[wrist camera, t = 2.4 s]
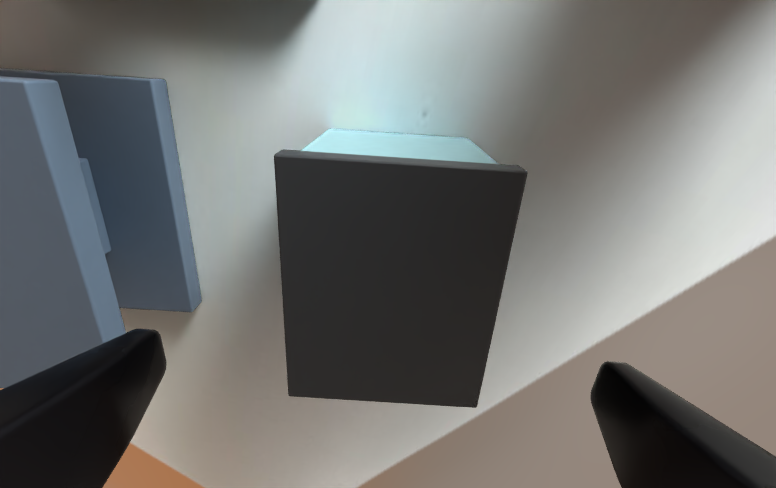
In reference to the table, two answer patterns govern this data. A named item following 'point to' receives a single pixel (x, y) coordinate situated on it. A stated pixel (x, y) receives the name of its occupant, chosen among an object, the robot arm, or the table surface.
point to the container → (392, 264)
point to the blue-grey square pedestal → (86, 214)
